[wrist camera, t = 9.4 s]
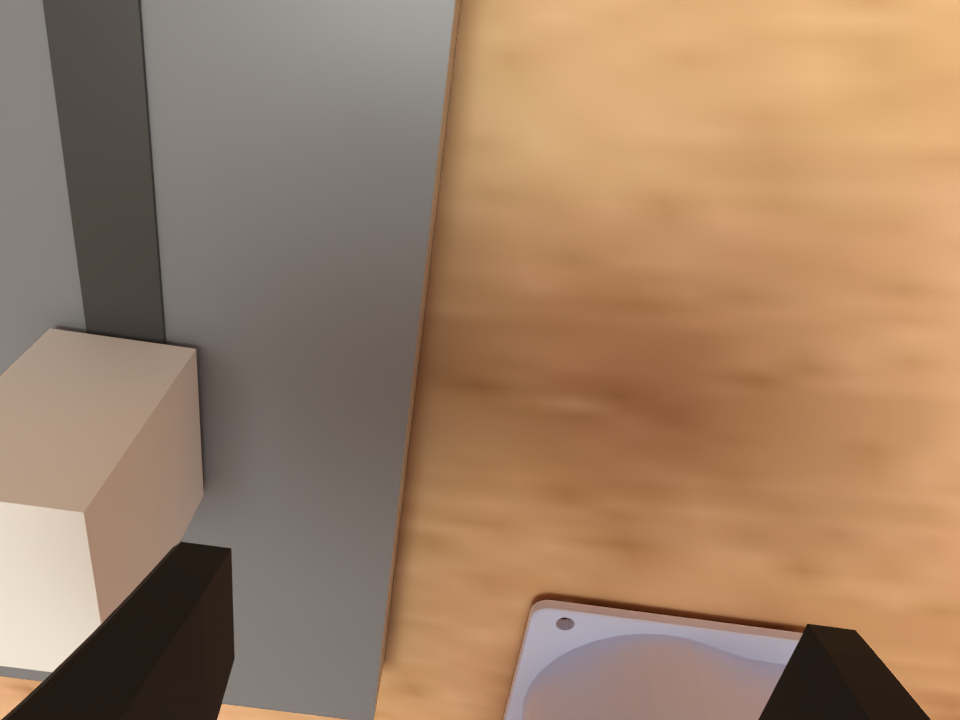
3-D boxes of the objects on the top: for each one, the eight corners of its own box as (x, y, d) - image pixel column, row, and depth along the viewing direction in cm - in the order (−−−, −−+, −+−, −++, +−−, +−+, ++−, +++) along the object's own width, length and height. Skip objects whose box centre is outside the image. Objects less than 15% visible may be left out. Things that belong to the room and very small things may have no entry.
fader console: (522, -522, 11) (523, -597, 10) (383, 664, 25) (372, 726, 23) (-342, -679, 11) (-513, -789, 9) (-9, 614, 24) (-51, 673, 23)
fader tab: (195, 348, 17) (83, 513, 12) (203, 495, 19) (109, 679, 14) (50, 328, 16) (-115, 486, 12) (74, 478, 19) (-61, 658, 14)
